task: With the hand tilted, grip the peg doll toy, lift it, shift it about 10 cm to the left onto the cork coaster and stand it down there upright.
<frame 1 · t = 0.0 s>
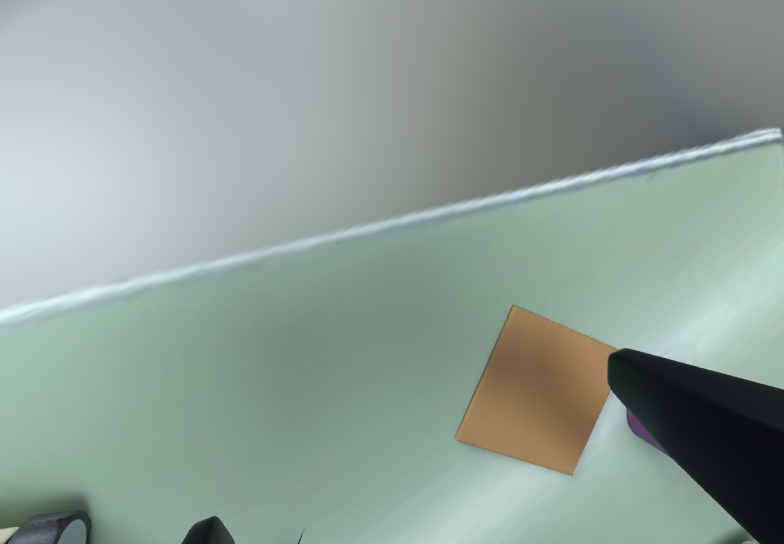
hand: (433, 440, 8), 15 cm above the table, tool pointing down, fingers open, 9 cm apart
peg doll toy: (654, 407, 29), on the table
cork coaster: (542, 393, 27), on the table
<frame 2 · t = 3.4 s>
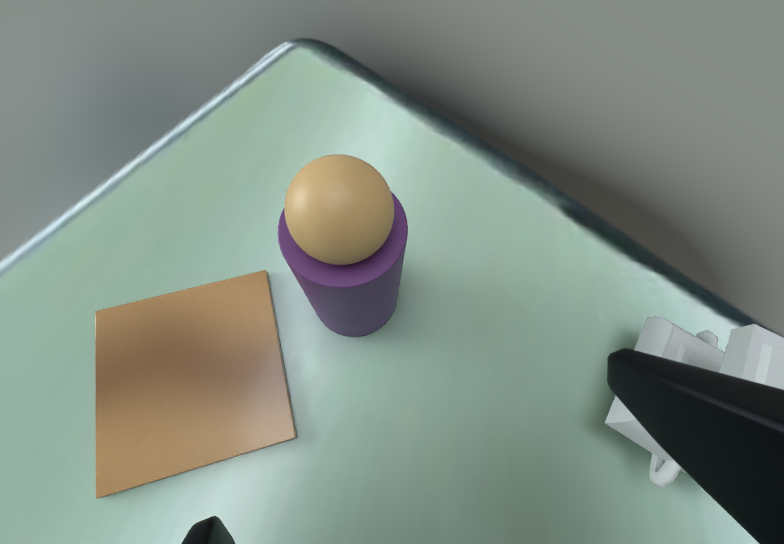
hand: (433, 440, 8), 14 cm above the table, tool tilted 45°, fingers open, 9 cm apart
peg doll toy: (355, 295, 23), on the table
stamp: (652, 404, 22), on the table
cork coaster: (193, 372, 21), on the table
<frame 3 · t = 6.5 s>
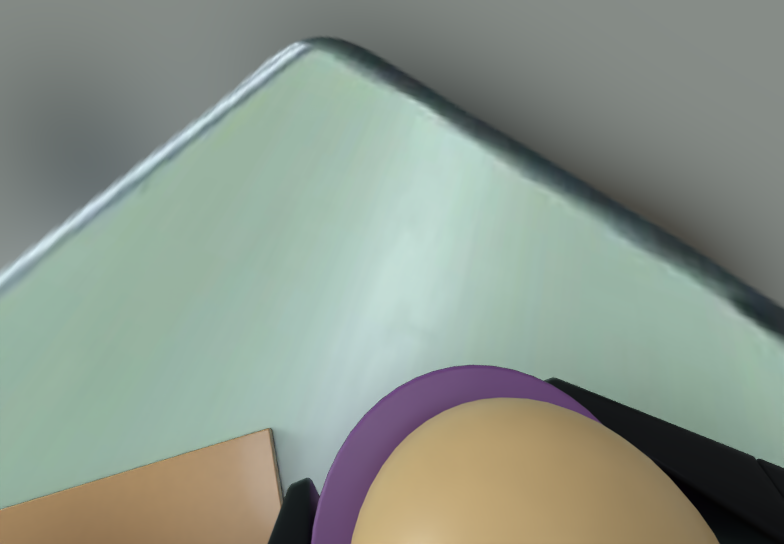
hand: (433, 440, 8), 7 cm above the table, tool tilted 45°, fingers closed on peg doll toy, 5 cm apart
peg doll toy: (422, 471, 14), on the table, touching gripper
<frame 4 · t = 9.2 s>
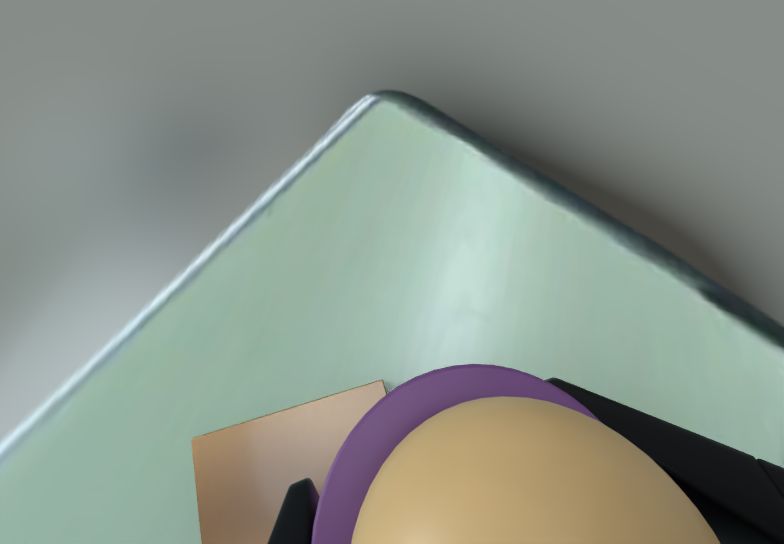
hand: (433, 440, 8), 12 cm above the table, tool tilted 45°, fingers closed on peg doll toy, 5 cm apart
peg doll toy: (422, 470, 14), point 6 cm above the table, touching gripper
cork coaster: (312, 513, 18), on the table
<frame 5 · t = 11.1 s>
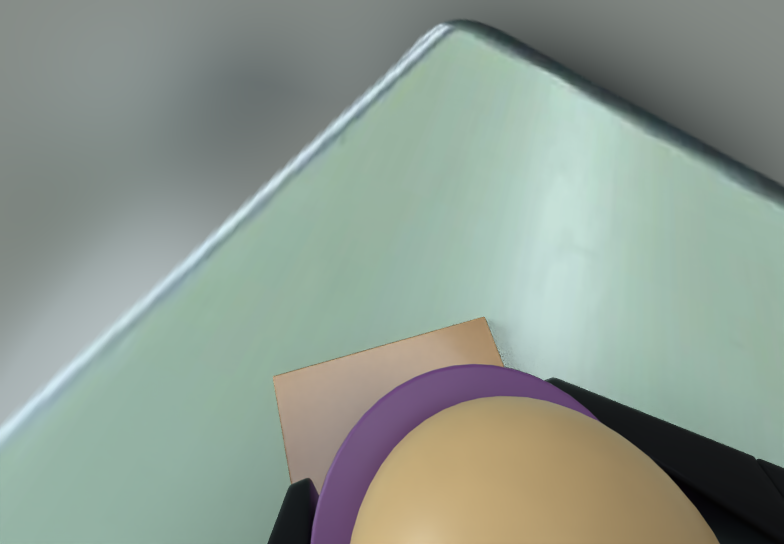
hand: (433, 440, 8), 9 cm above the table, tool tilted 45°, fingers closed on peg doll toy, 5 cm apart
peg doll toy: (421, 470, 14), point 2 cm above the table, touching gripper
cork coaster: (415, 462, 16), on the table
when the fingers open (7 cm above the table, at t = 12.1 s): peg doll toy stays where it is, resting on cork coaster.
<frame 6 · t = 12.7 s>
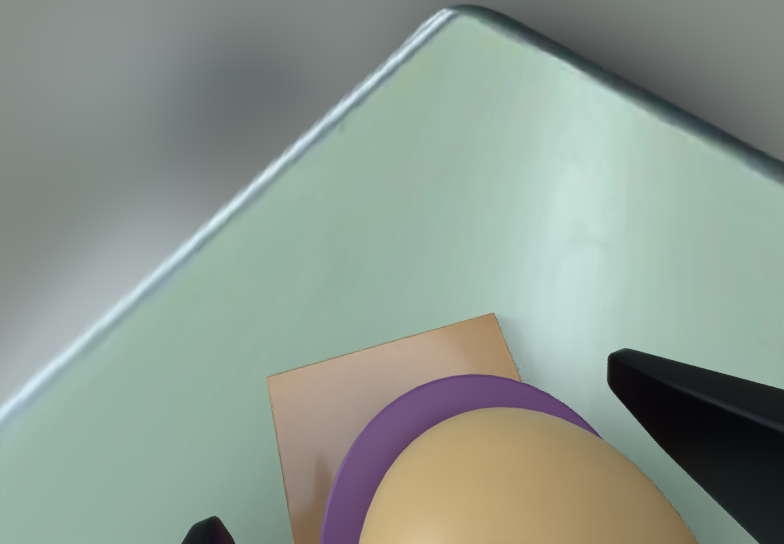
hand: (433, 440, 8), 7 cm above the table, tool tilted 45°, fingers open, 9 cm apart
peg doll toy: (422, 473, 14), resting on cork coaster
cork coaster: (420, 469, 14), on the table
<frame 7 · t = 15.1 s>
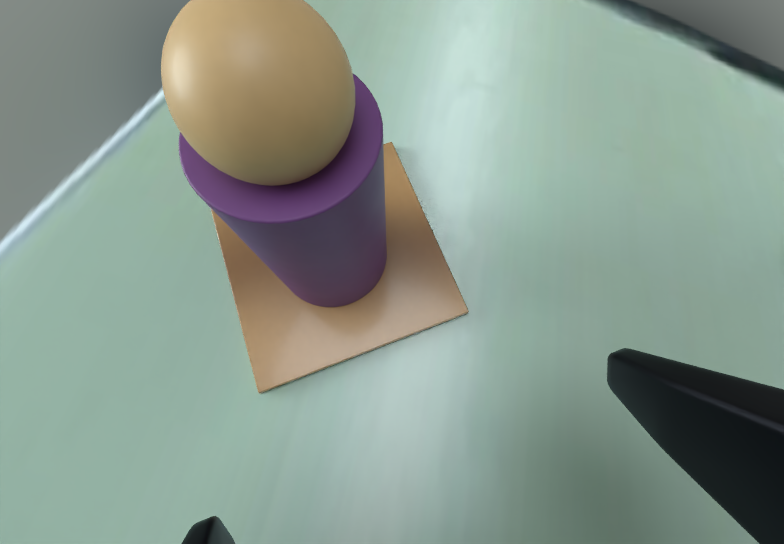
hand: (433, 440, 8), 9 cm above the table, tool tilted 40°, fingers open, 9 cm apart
peg doll toy: (333, 254, 18), resting on cork coaster
cork coaster: (333, 256, 18), on the table
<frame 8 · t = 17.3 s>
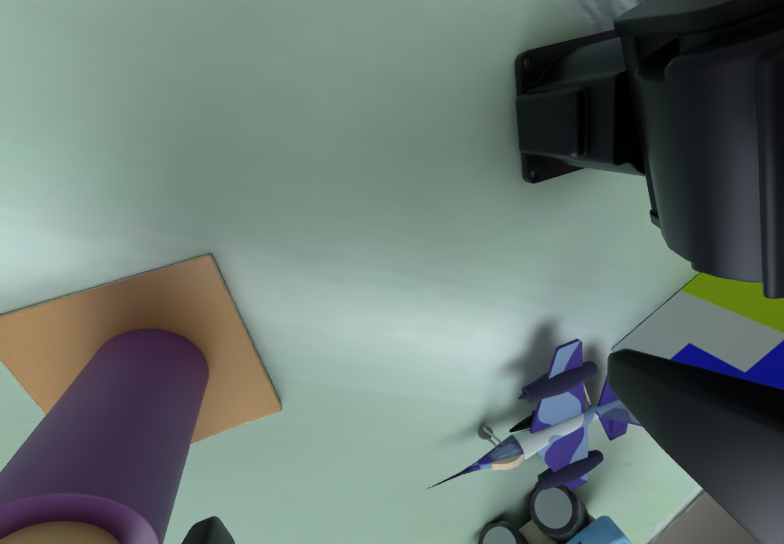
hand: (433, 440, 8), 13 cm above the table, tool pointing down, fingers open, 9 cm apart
peg doll toy: (152, 373, 19), resting on cork coaster
toy excavator: (556, 501, 34), on the table
toy airplane: (527, 404, 28), on the table
puzzle toy: (678, 341, 30), on the table
cork coaster: (152, 369, 19), on the table
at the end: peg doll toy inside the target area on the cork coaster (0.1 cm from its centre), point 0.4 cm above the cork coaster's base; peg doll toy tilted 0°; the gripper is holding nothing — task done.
